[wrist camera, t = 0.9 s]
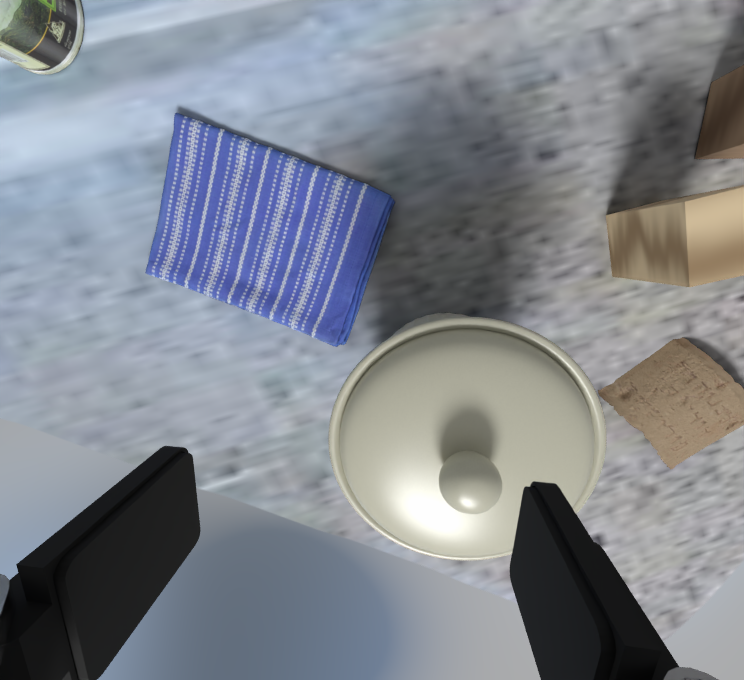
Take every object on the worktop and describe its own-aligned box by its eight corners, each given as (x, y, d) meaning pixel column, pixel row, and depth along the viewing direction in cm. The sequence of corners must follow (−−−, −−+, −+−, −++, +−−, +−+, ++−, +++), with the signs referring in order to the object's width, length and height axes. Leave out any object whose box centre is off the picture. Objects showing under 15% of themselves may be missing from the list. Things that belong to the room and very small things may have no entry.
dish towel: (346, 348, 40) (341, 355, 38) (154, 274, 40) (135, 276, 38) (400, 197, 36) (399, 193, 33) (183, 114, 36) (165, 103, 33)
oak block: (605, 215, 34) (684, 201, 24) (662, 200, 33) (768, 180, 23) (612, 276, 35) (689, 287, 25) (667, 263, 34) (768, 269, 25)
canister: (481, 463, 42) (551, 667, 21) (339, 409, 42) (273, 561, 21) (555, 323, 37) (736, 417, 16) (393, 263, 37) (373, 280, 16)
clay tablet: (589, 388, 39) (602, 398, 36) (672, 324, 36) (692, 330, 33) (672, 473, 40) (690, 488, 37) (757, 417, 38) (783, 430, 35)
